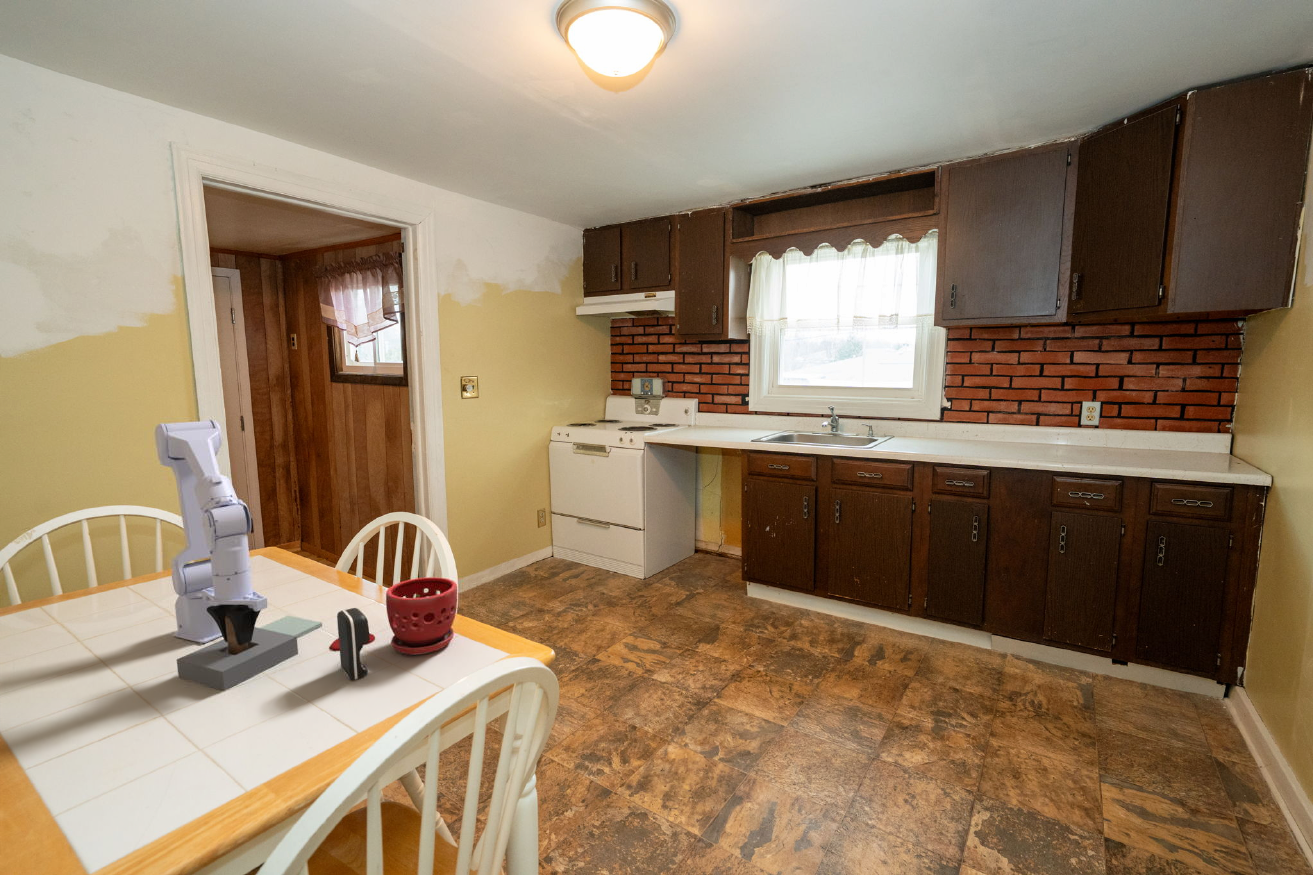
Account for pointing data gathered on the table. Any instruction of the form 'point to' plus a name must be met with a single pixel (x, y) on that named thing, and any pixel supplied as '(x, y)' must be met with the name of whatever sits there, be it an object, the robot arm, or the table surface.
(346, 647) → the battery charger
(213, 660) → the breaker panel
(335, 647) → the lollipop
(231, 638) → the brown cylinder
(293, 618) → the pad
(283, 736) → the table surface
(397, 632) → the plant pot
